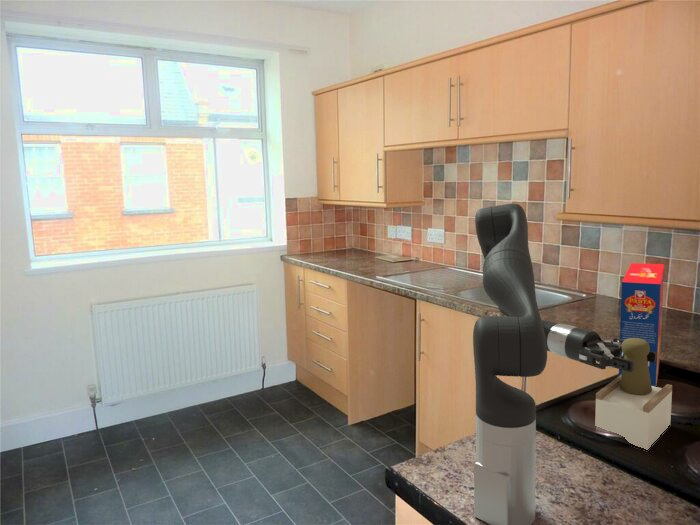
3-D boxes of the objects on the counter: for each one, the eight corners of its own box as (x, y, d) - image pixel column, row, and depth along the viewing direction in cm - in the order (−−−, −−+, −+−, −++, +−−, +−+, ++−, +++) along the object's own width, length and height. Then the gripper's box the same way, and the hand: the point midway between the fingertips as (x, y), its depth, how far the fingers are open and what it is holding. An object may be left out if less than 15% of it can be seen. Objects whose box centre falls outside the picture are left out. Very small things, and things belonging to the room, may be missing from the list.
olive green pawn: (641, 380, 112) (641, 333, 110) (658, 392, 106) (658, 343, 104) (614, 383, 112) (613, 336, 110) (629, 396, 106) (629, 347, 104)
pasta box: (655, 397, 123) (660, 284, 119) (618, 391, 127) (621, 281, 123) (659, 360, 146) (664, 264, 142) (628, 356, 150) (631, 263, 146)
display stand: (647, 451, 100) (649, 407, 98) (594, 434, 107) (595, 393, 106) (670, 425, 109) (672, 385, 108) (620, 411, 116) (622, 373, 115)
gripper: (554, 333, 113) (626, 352, 100) (592, 321, 121) (664, 337, 107) (553, 365, 114) (624, 388, 101) (591, 351, 122) (662, 371, 108)
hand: (644, 362), depth 104 cm, fingers open, 8 cm apart
